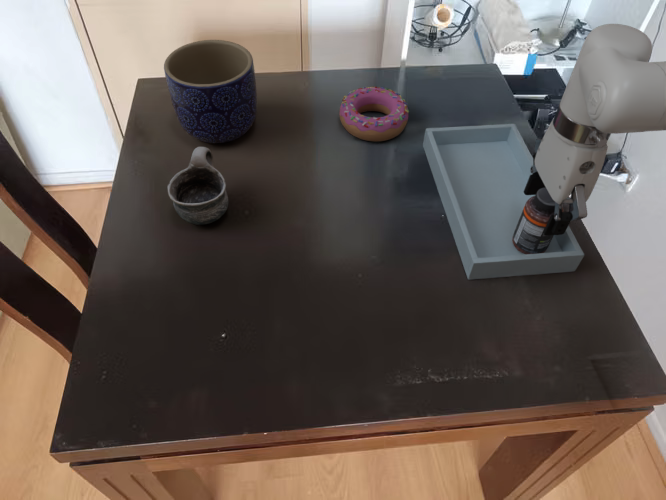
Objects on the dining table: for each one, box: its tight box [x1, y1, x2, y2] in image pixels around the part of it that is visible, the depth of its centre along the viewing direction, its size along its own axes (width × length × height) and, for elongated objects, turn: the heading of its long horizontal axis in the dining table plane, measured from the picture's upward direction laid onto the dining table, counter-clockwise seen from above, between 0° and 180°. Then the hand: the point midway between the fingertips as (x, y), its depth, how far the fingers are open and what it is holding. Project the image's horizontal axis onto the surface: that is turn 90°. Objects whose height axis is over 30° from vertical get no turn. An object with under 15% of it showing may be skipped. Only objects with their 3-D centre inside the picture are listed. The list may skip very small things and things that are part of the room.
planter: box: [163, 39, 258, 144], centre depth 105 cm, size 16×17×15 cm
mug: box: [167, 146, 229, 226], centre depth 92 cm, size 10×12×10 cm
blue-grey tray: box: [422, 123, 585, 281], centre depth 96 cm, size 34×18×4 cm, turn 6°
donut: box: [338, 86, 410, 142], centre depth 111 cm, size 14×14×5 cm
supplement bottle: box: [512, 187, 565, 254], centre depth 86 cm, size 6×6×11 cm
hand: (542, 212), depth 85 cm, fingers open, 8 cm apart
